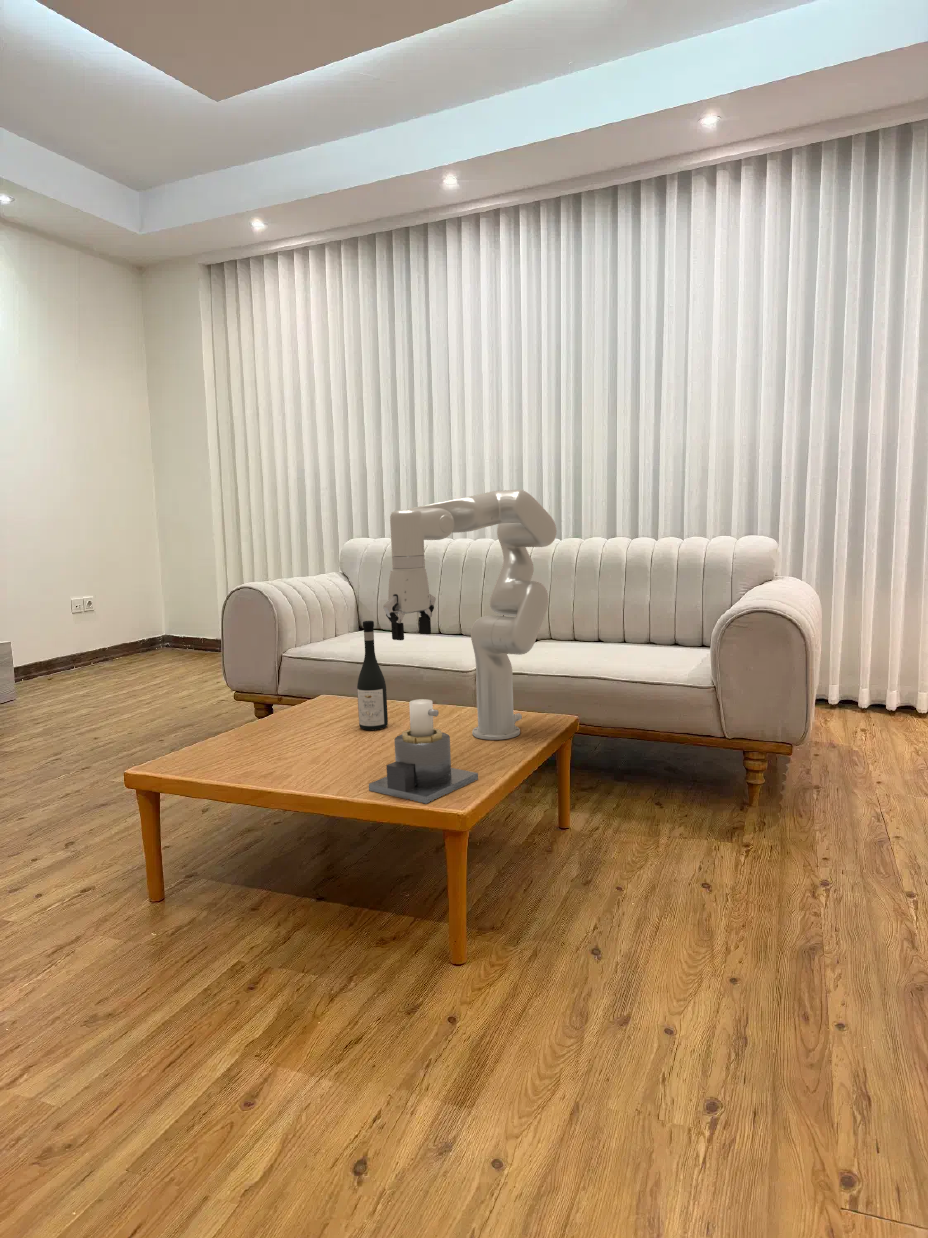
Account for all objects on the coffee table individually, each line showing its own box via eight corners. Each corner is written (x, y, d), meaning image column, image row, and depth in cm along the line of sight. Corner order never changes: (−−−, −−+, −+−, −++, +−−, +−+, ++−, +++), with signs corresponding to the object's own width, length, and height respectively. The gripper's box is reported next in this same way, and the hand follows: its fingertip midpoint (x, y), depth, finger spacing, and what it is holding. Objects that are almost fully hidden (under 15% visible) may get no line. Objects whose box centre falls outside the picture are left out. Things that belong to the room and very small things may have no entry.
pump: (420, 733, 185) (419, 698, 184) (444, 737, 181) (443, 701, 180) (406, 739, 181) (404, 702, 180) (430, 743, 177) (428, 706, 176)
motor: (422, 768, 195) (420, 719, 193) (478, 779, 185) (476, 728, 183) (369, 790, 180) (366, 737, 179) (426, 803, 171) (423, 748, 169)
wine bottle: (383, 731, 229) (378, 622, 225) (355, 731, 230) (350, 623, 226) (391, 723, 237) (385, 618, 233) (363, 723, 238) (358, 619, 234)
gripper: (420, 560, 202) (423, 630, 205) (370, 566, 189) (374, 641, 191) (444, 561, 198) (447, 632, 200) (395, 566, 184) (399, 643, 186)
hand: (411, 636), depth 195 cm, fingers open, 9 cm apart
